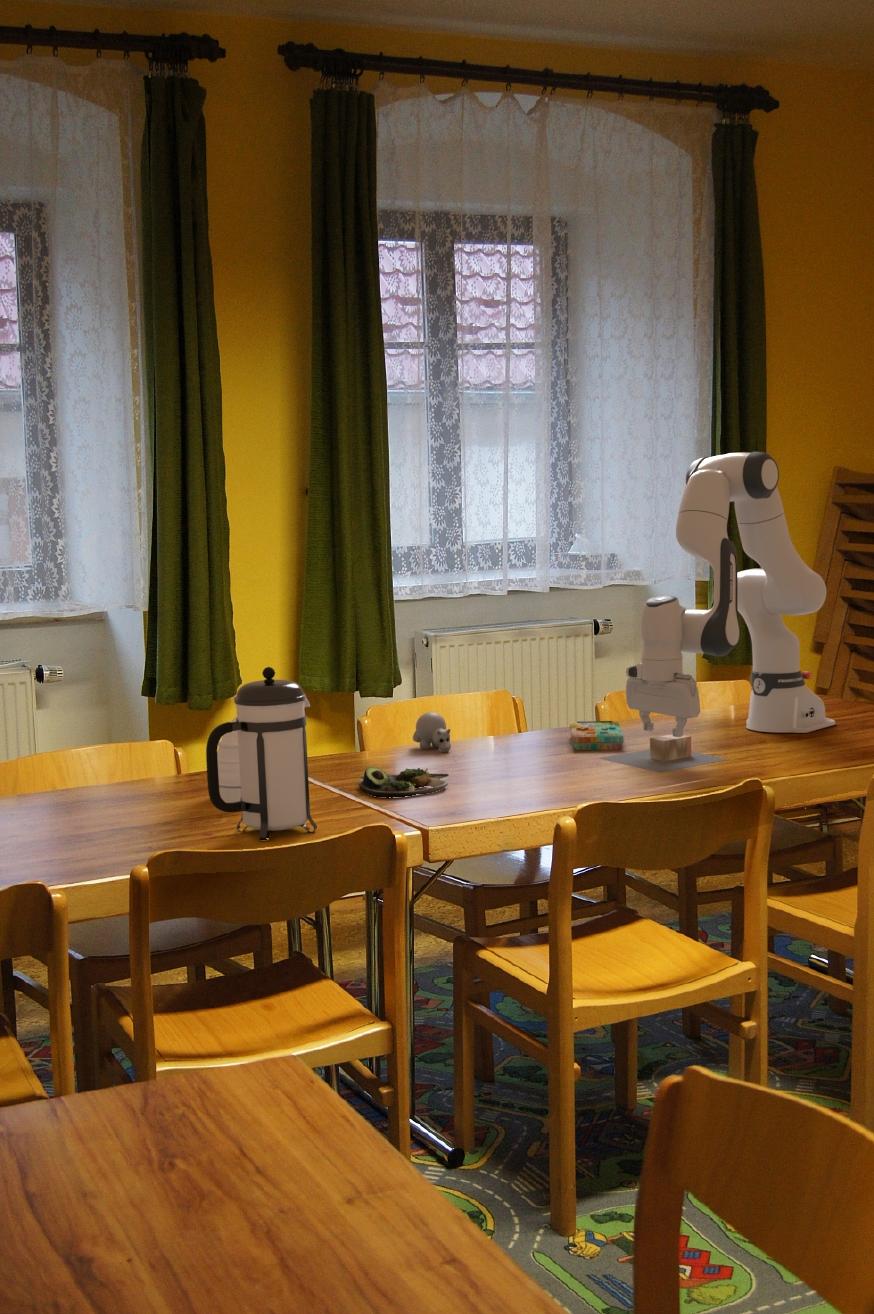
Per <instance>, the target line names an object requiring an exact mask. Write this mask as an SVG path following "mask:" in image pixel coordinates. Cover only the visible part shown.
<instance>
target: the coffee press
mask: <svg viewBox="0 0 874 1314" xmlns="http://www.w3.org/2000/svg"><path fill="white" fill-rule="evenodd" d="M261 674H262V677H264V678H265V679H263V680H261V679H260V680H255V681H251V682H250V681H249V682H247V683H245V684H243V685H242V686H240V687H239V688H238V690H237V692H236V696H234V697H233V703H234V704H235V706H236V716H237V718H236V722H231V721H227V722H223V723H220V724H218V725H217V726H216V727H214V729H212V730H211V732H210V734H209V736H208V738H207V742H206V748H205V750H206V751H205V758H206V759H205V761H206V778H207V780H206V781H207V789H208V790H207V791H208V796H209V800H210V802H211V804H212V805H213V806H214V807H215V808H216V809H217V810H219V811H221V812H225V813H239V812H241V819H240V820H239V822H238V823H237V824H236V829H237V831H238V830H239V829H240V828H242V827H241V823H242V822H243V824H244V825H245V826H246V827H244V828H243V829H244V831H245V830H246V829H247V828H251V830H252V829H253V830H256V831H259V835H258V840H259V841H260V840H267V839H266V838H269V839H270V835H271V833H272V832H273V831H284V830H285V831H286V830H290V829H293V828H294V829H295V828H298V827H300V828H301V827H302V828H303V829H304V830H305V831H307V832H308V831H309V830H310V829H311V827H309V826H308V825H306V824H305V823H306V822H308V821H309V823H310V825H311V826H312V827H313V831H314V832H316V831H317V829H318V826H317V824H316V823H315V821H314V819H313V818H312V817H311V806H310V804H311V803H310V783H309V766H308V765H309V764H308V747H307V746H308V744H307V742H308V741H307V731H306V726H307V715H306V712H305V708H310V707H311V704H310V701H309V700H308V698H307V694H306V693H305V692H304V689H303V687H302V686H301V685H300V684H298V683H297V682H295V681H292V680H288V679H275V678H274V677H275V675H276V672H275V669H274V668H273V667H271V666H267V667H265V668H264V669H263V670H262V673H261ZM237 730H238V746H239V764H240V783H241V798H240V800H241V801H239V802H233V803H226V802H224V801H223V800H222V798H221V796H220V792H219V777H218V759H217V752H218V748H219V746H218V743H219V740H220V739H222V737H223V735H224V734H226V733H229V732H232V731H237ZM315 830H316V831H315Z"/></svg>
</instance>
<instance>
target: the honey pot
mask: <svg viewBox="0 0 874 1314" xmlns="http://www.w3.org/2000/svg"><path fill="white" fill-rule="evenodd" d="M236 718H237V715H236V716H235V717H234V718H233V719H232V720H230V722H236ZM217 759H218V777H219V792H220V796H221V798H222V800H223V801H224V802H227V803H233V802H239V801H241V800H240V798H241V783H240V764H239V746H238V730H237V731H232V732H229V733H226V734H224V735H223V736H222V737H221V739H220V740H219V743H218V748H217Z"/></svg>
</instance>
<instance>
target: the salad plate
mask: <svg viewBox="0 0 874 1314" xmlns="http://www.w3.org/2000/svg"><path fill="white" fill-rule="evenodd" d="M428 770H429V769H428V768H425V770H424V769H421V768H420V767H417V768H405V770H403V771H400V773H398V774H387V772H386V771H384V770H383V769H382V768H379V767H377V766H368V767H367V768H366V769H365V770H364V775H363V776H360V777H359V778H361V779H360V780H359V781H358V784H357V785H358V787H359V789H360V791H361V792H362V793H364V794H366V795H368V794H369V795H368V796H370V795H372V796H371V797H373V796H376V797H375V798H377V797H386V798H385V799H394V798H393V797H405V796H412V795H416V794H424V795H428V794H427V793H429V794H433V793H432V792H434V793H437V792H436V791H438V792H440V791H439V790H441V791H442V790H444V789H445V788H446V787H447V786H448V785H449V783H448V782H447V781H445V780H442V779H443V778H446V777H449V773H430V772H429V771H428ZM424 786H431V787H433V788H425V789H417V790H415V788H419V787H424ZM443 788H444V789H443ZM389 797H391V798H389ZM412 797H413V796H412Z"/></svg>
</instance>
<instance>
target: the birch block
mask: <svg viewBox="0 0 874 1314" xmlns="http://www.w3.org/2000/svg"><path fill="white" fill-rule="evenodd" d="M649 749H650V758H651V759H656V760H661V761H669V760H674V759H680V758H685V757H690V756H691V751H692V735H686V734H683V736H682V737H675V736H673V733H672V734H667V735H660V736H655V737H650V738H649Z"/></svg>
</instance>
